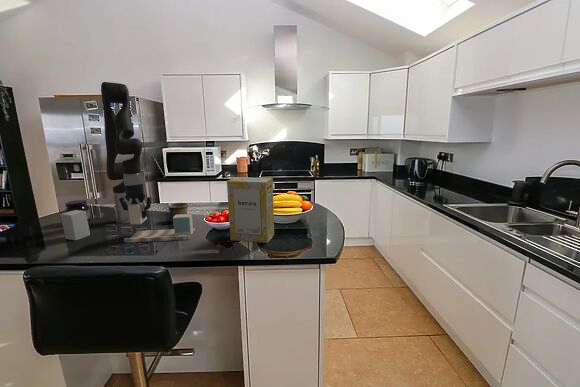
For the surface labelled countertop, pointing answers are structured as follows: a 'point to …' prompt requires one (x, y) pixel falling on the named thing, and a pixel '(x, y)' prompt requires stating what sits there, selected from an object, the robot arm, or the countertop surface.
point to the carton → (135, 214)
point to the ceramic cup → (178, 209)
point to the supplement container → (78, 207)
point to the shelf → (156, 236)
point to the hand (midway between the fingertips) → (138, 218)
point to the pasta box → (251, 209)
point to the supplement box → (75, 225)
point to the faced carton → (183, 224)
